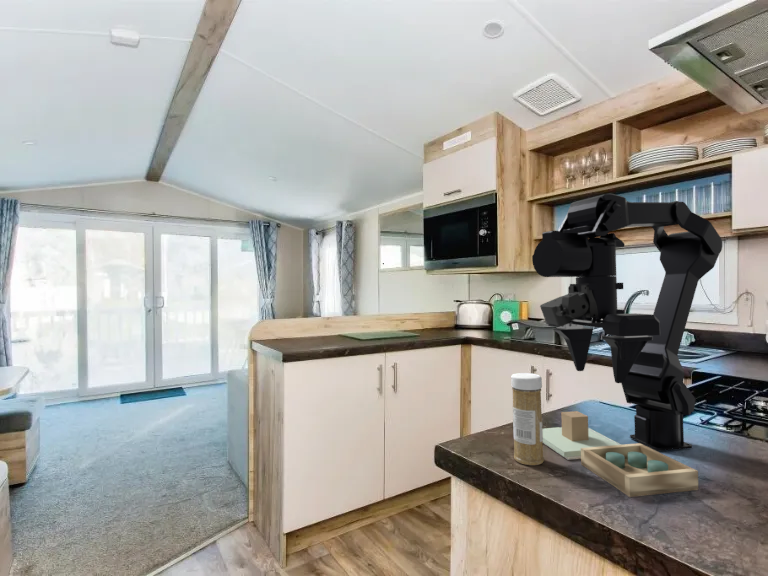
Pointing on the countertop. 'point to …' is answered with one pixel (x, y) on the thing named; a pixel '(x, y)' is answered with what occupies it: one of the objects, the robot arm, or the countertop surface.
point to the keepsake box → (639, 469)
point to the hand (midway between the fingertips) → (598, 376)
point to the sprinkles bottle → (527, 418)
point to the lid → (574, 435)
